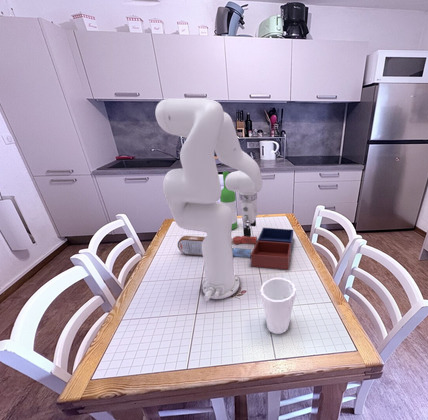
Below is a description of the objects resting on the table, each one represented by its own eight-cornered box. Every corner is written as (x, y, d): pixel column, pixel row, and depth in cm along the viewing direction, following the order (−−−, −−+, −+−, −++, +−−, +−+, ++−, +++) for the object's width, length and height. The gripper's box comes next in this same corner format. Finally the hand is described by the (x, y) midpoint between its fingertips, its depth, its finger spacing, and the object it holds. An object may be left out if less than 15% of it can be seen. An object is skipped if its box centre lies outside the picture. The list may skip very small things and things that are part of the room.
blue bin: (291, 252, 103) (291, 241, 101) (258, 249, 105) (257, 239, 103) (293, 239, 114) (293, 229, 112) (263, 237, 116) (263, 227, 113)
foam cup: (276, 307, 74) (276, 273, 69) (300, 322, 69) (302, 287, 64) (255, 326, 68) (253, 290, 63) (279, 345, 62) (280, 307, 57)
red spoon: (257, 240, 113) (257, 235, 112) (255, 245, 109) (255, 240, 108) (234, 238, 114) (234, 233, 113) (232, 243, 110) (231, 238, 109)
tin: (214, 253, 102) (212, 236, 99) (212, 257, 100) (209, 240, 96) (181, 251, 104) (178, 234, 101) (178, 255, 101) (174, 238, 98)
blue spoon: (251, 253, 103) (251, 247, 102) (249, 259, 99) (249, 253, 98) (227, 251, 104) (226, 245, 103) (223, 256, 100) (223, 251, 99)
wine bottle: (239, 228, 124) (235, 172, 112) (224, 231, 121) (219, 174, 109) (235, 222, 130) (231, 169, 119) (221, 225, 127) (216, 170, 116)
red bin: (288, 269, 92) (288, 258, 90) (251, 266, 94) (250, 254, 92) (290, 254, 102) (291, 243, 100) (257, 251, 104) (257, 240, 102)
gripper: (251, 204, 94) (253, 241, 101) (260, 190, 110) (261, 222, 117) (233, 203, 95) (236, 239, 102) (245, 189, 111) (247, 222, 118)
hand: (250, 230), depth 109 cm, fingers open, 9 cm apart
